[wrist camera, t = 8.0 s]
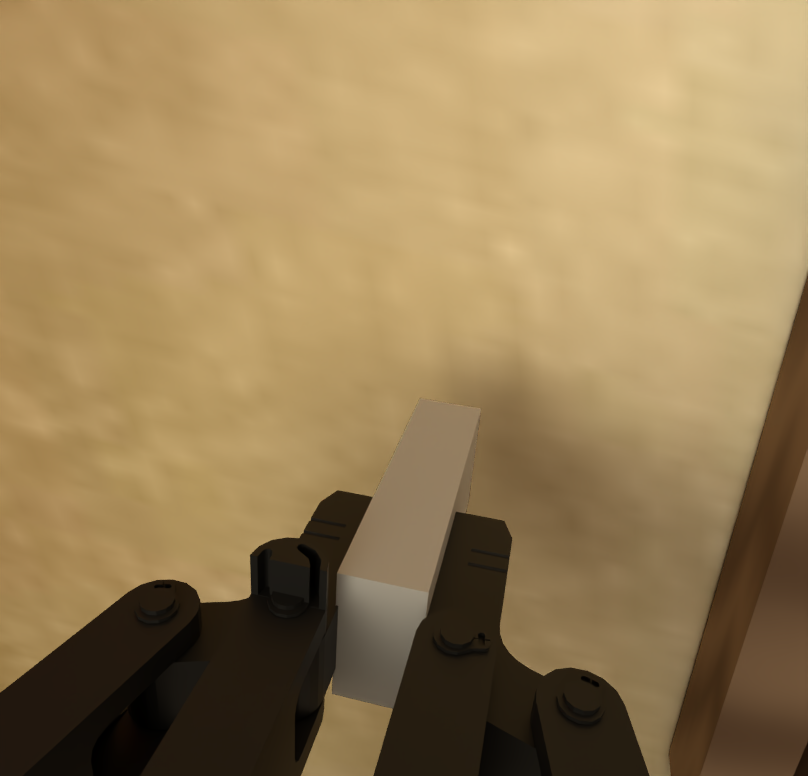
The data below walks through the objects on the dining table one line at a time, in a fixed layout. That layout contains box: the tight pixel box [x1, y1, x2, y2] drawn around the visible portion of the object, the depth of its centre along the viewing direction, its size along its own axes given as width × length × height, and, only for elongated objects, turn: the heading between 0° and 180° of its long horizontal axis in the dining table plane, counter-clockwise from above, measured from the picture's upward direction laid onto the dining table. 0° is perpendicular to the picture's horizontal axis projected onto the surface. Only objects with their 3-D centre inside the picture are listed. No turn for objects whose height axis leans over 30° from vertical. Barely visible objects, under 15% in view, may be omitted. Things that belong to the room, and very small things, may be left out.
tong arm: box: [669, 278, 808, 776], centre depth 20 cm, size 24×2×4 cm, turn 179°
